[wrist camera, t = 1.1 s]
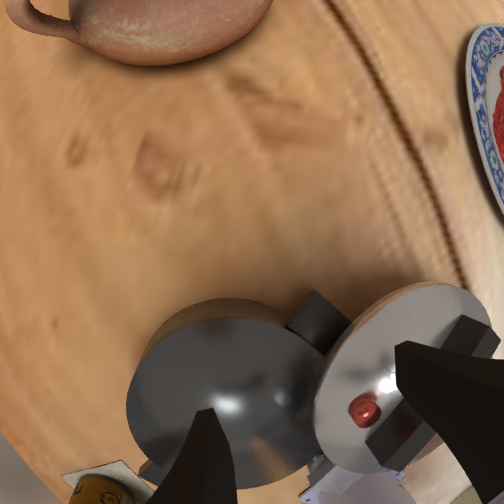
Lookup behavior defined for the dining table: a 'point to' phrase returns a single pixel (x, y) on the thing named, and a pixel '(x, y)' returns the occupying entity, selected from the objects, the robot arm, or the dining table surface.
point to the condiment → (108, 486)
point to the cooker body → (235, 385)
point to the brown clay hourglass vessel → (146, 26)
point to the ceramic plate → (488, 101)
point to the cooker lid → (387, 381)
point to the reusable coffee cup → (468, 497)
